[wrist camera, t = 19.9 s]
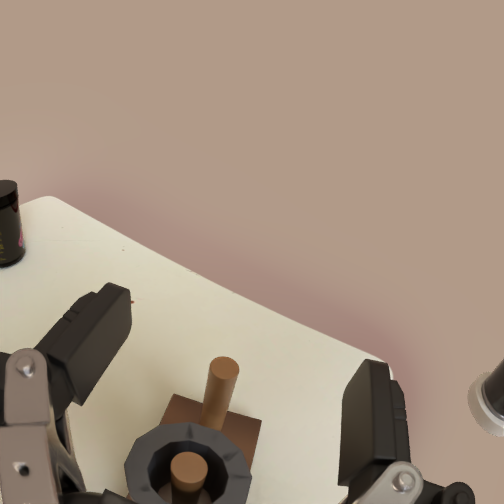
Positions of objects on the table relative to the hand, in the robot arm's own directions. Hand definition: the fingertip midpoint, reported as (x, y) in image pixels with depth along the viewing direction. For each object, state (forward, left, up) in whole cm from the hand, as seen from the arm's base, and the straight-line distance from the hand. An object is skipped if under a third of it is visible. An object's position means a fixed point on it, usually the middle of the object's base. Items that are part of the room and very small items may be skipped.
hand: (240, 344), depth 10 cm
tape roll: (+2, +1, -17) cm, 17 cm away
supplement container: (+23, -33, -19) cm, 44 cm away
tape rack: (0, -2, -19) cm, 19 cm away
